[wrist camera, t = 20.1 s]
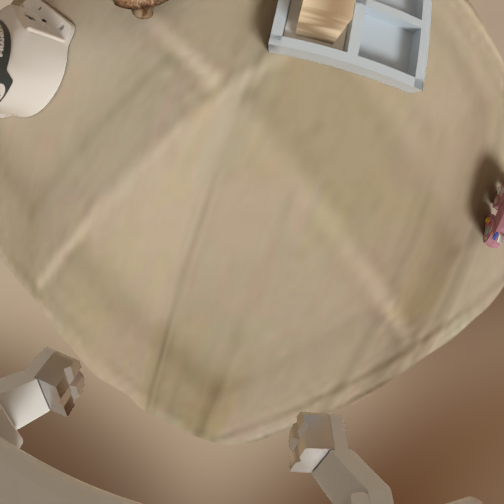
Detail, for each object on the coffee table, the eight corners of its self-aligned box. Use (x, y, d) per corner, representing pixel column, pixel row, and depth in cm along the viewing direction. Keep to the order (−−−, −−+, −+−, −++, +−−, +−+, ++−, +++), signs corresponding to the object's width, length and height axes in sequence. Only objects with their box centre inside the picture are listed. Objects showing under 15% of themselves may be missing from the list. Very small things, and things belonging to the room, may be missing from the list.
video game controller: (493, 177, 34) (506, 176, 28) (516, 190, 32) (531, 192, 26) (472, 236, 37) (482, 245, 31) (494, 248, 36) (507, 259, 30)
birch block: (294, 35, 27) (302, 5, 19) (300, 4, 26) (309, -31, 17) (332, 44, 27) (352, 18, 19) (338, 14, 26) (357, -18, 17)
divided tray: (268, 51, 29) (268, 43, 26) (293, -54, 23) (295, -67, 19) (409, 93, 30) (422, 90, 26) (421, -13, 23) (432, -22, 20)
